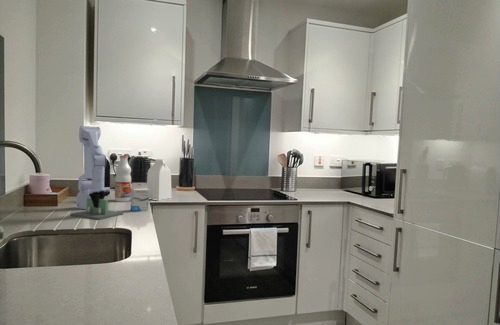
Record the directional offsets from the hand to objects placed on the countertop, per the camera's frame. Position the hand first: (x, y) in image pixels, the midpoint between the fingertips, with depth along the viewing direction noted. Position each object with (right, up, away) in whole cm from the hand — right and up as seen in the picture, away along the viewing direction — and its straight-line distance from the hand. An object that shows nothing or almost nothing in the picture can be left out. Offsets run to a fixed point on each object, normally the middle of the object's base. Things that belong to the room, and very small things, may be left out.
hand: (97, 207), depth 181 cm
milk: (+15, -2, +60) cm, 62 cm away
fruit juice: (-4, -2, +47) cm, 47 cm away
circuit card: (0, -3, 0) cm, 3 cm away
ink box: (+15, -4, +18) cm, 24 cm away
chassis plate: (0, -4, 0) cm, 4 cm away
